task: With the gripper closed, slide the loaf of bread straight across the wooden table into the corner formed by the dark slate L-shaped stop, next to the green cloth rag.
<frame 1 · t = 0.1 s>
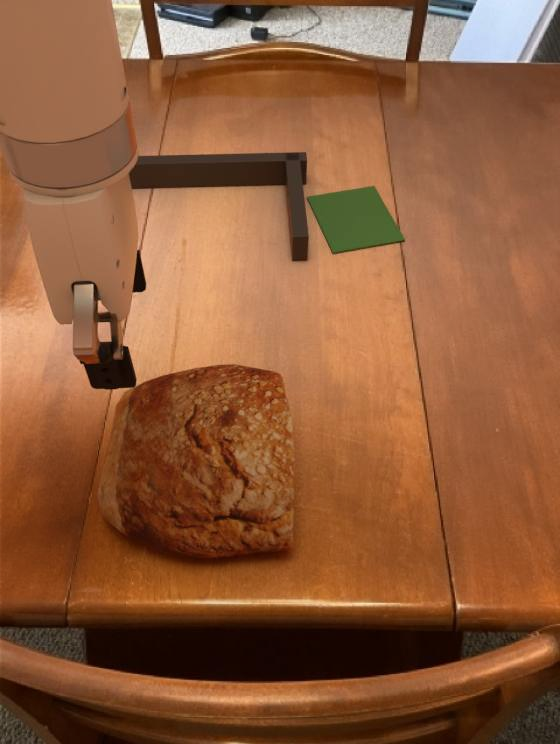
hand: (121, 334, 52), 20 cm above the table, tool pointing down, fingers open, 9 cm apart
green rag: (354, 219, 92), on the table
bread: (201, 468, 68), on the table
corner stop: (207, 204, 94), on the table
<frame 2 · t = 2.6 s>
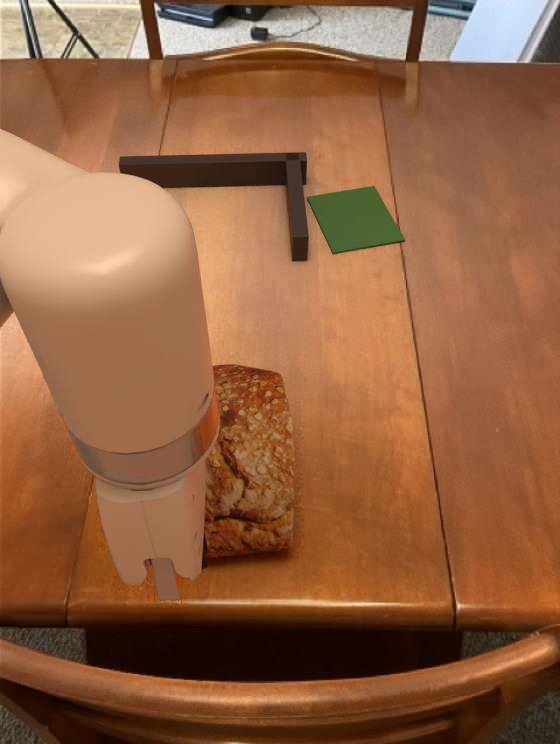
hand: (185, 558, 49), 13 cm above the table, tool pointing down, fingers closed
nothing on the table moved.
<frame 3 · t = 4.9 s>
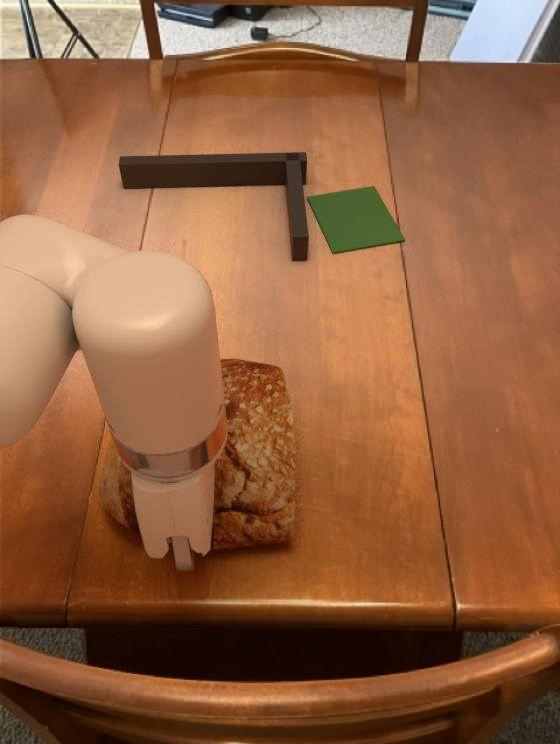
hand: (195, 540, 59), 4 cm above the table, tool pointing down, fingers closed
bread: (202, 462, 69), on the table, touching gripper
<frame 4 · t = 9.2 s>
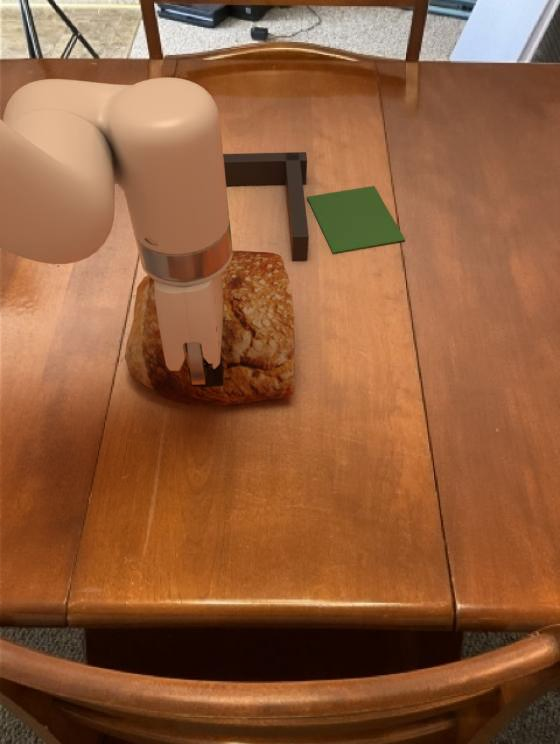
hand: (208, 380, 69), 5 cm above the table, tool pointing down, fingers closed
bread: (212, 341, 79), on the table, touching gripper
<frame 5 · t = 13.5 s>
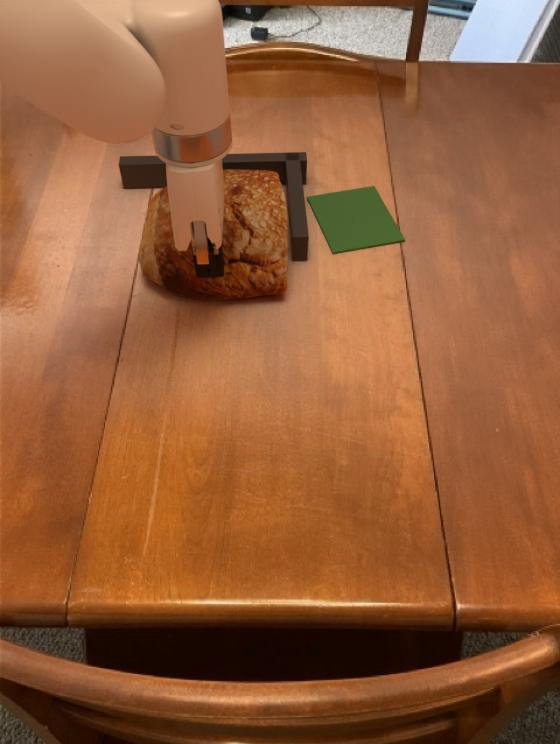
hand: (210, 272, 78), 5 cm above the table, tool pointing down, fingers closed
bread: (215, 251, 89), on the table, touching gripper
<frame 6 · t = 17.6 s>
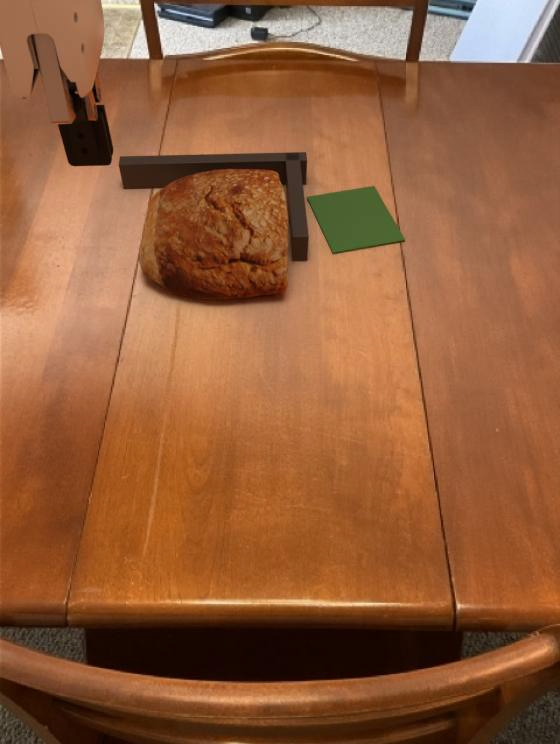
hand: (91, 159, 51), 29 cm above the table, tool pointing down, fingers closed
bread: (215, 250, 89), on the table
at the end: bread inside the target area on the corner stop (1.8 cm from its centre), point 0.0 cm above the corner stop's base; bread moved 32.6 cm from its start; bread tilted 0° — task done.
